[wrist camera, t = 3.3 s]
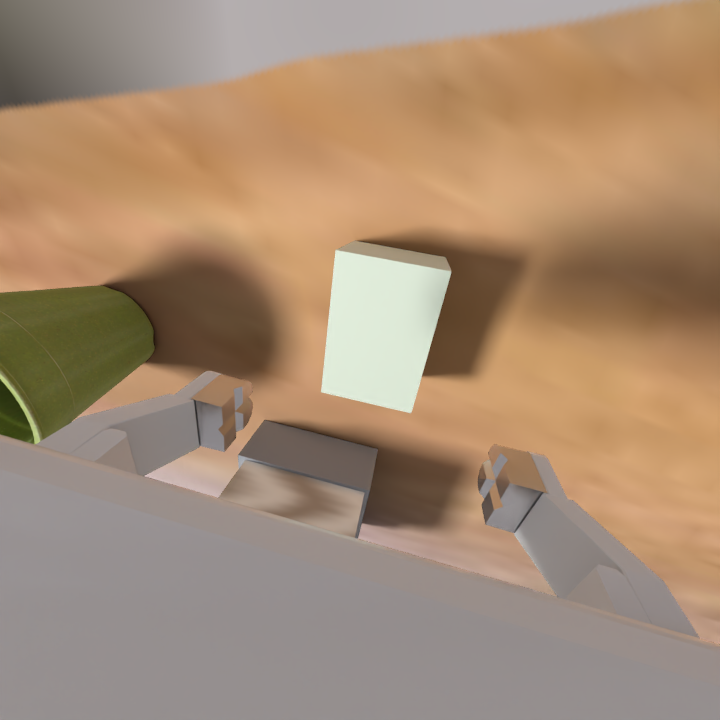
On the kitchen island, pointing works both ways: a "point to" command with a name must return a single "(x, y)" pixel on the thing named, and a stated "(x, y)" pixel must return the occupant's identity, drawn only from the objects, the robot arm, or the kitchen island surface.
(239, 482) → the cream top block
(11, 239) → the kitchen island surface
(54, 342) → the plant pot
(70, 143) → the kitchen island surface
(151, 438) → the robot arm
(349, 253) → the sage brick
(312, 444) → the grey base block
